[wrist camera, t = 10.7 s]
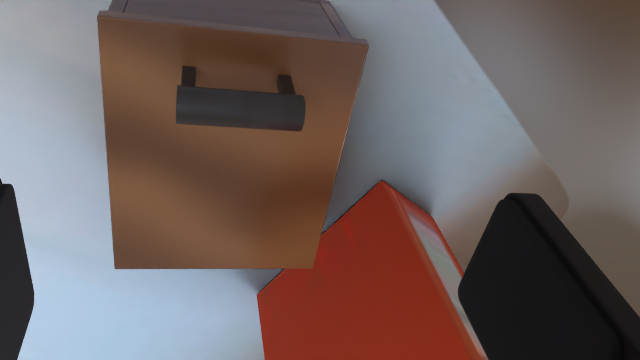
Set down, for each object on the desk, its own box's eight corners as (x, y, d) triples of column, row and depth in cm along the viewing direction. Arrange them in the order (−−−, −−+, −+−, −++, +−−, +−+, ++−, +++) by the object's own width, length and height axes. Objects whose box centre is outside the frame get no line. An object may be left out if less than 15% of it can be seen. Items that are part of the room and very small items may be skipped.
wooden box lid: (99, 9, 25) (80, 55, 21) (365, 39, 29) (391, 83, 25) (116, 260, 36) (105, 322, 32) (311, 260, 39) (323, 316, 35)
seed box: (123, -27, 34) (103, 19, 27) (328, 0, 37) (358, 46, 30) (130, 185, 43) (116, 260, 36) (294, 190, 46) (310, 260, 39)
